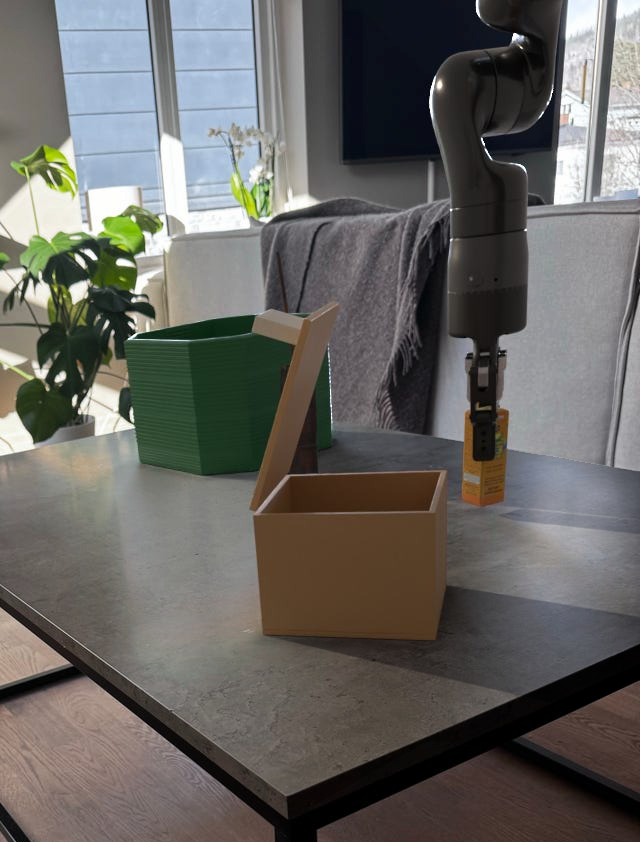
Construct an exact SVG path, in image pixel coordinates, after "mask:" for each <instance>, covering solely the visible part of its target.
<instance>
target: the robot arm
mask: <svg viewBox="0 0 640 842" xmlns="http://www.w3.org/2000/svg"><path fill="white" fill-rule="evenodd" d="M563 1H564V0H476V1H475V7H476V8H475V10H476V13H477V15H478V17H479V19H480V20H481V22H482V23H484V25H486V26H488V27H490V28H491V29H494V30H497V31H499V32H504V33H507V34H513V36H512V39H511V42H510V44H509V45H508V46H502V47H493V48H483V49H475V50H467V51H460V52H457V53H455V54H452V55H451V56H449V57H447V58H446V59H445V60H444V61H443V63H442V64H441V65H440V67H439V68H438V70H437V72H436V74H435V76H434V78H433V81H432V85H431V88H430V96H429V109H430V117H431V122H432V127H433V129H434V130H433V131H434V134H435V138H436V142H437V144H438V147H439V151H440V152H439V153H440V155H441V159H442V160H441V161H442V163H443V168H444V172H445V177H446V180H447V181H446V182H447V187H448V190H449V205H450V206H449V207H450V208H449V238H450V239H449V251H448V257H447V334H448V335H449V337H451V338H454V339H470V340H471V341H472V343H473V345H472V351H470V352H466V356H465V357H464V372H465V374H466V376H467V377H466V399H467V401H468V402H469V405H470V406H469V408H470V409H469V410H470V414H469V419H470V422H471V425H472V426H473V451H472V458H473V460H474V461H492V460H493V459H494V458H495V436H496V424H497V421H498V413H497V407H499V408H501V404H500V401H501V400H502V399H503V396H504V389H505V388H504V387H505V371H506V370H507V363H508V349H501V346H500V337H502V336H508V335H513V334H517V333H520V332H522V331H524V330H525V328H526V327H527V323H528V294H529V293H528V291H529V265H530V264H529V263H530V262H529V261H530V260H529V259H530V256H529V255H530V254H529V253H530V251H529V243H528V229H527V227H528V197H529V179H528V178H529V177H528V174H527V173H528V172H527V170H526V168H525V167H524V166H523V165H521V164H518V163H515V162H507V161H506V162H505V161H499V160H495V159H493V158H492V157H491V156H490V154H489V153H488V150H487V148H486V146H485V143H484V141H483V138H487V137H496V136H501V135H502V136H503V135H510V134H518V133H521V132H524V131H526V130H528V129H529V128H531V127H532V126H533V125H535V124H536V122H537V121H538V120H539V119H540V118H541V117H542V115H543V114H544V112H545V110H546V109H547V107H548V105H549V103H550V101H551V98H552V93H553V91H554V90H553V89H554V85H555V84H554V83H555V71H556V56H557V47H558V46H557V45H558V38H559V30H560V22H561V15H562V7H563ZM486 406H491V410H477V408H482V407H486Z"/></svg>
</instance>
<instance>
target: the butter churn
mask: <svg viewBox="0 0 640 842" xmlns="http://www.w3.org/2000/svg"><path fill="white" fill-rule="evenodd" d="M275 259H276V266H277V271H278V277H279V284H280V291H281V295H282V302H283V310H284V313H287V314H289V307H288V306H289V305H288V300H287V291H286V285H285V278H284V273H283V267H282V266H283V265H282V260H281V259H282V257H281V253H280V251H276V252H275ZM289 346H290V352H291V359H292V358H293V354H294V347H293V346H294V345H293V344H290V343H289ZM289 368H290V365H287V366H281V377H280V382H281V386H280V397H281V396H282V393H283V389H284V386H285V382H286V379H287V375H288V372H289ZM316 410H317V407H316V385H315V388H314V391H313V395H312V398H311V401H310V404H309V408H308V411H307V414H306V418H305V421H304V424H303V427H302V431H301V434H300V437H299V441H298V444H297V447H296V451H295V454H294V457H293V460H292V464H291V467H290V470H289V472H288V474H287V475H300V474H319V451H317V448H318V443H317V413H316Z"/></svg>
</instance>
